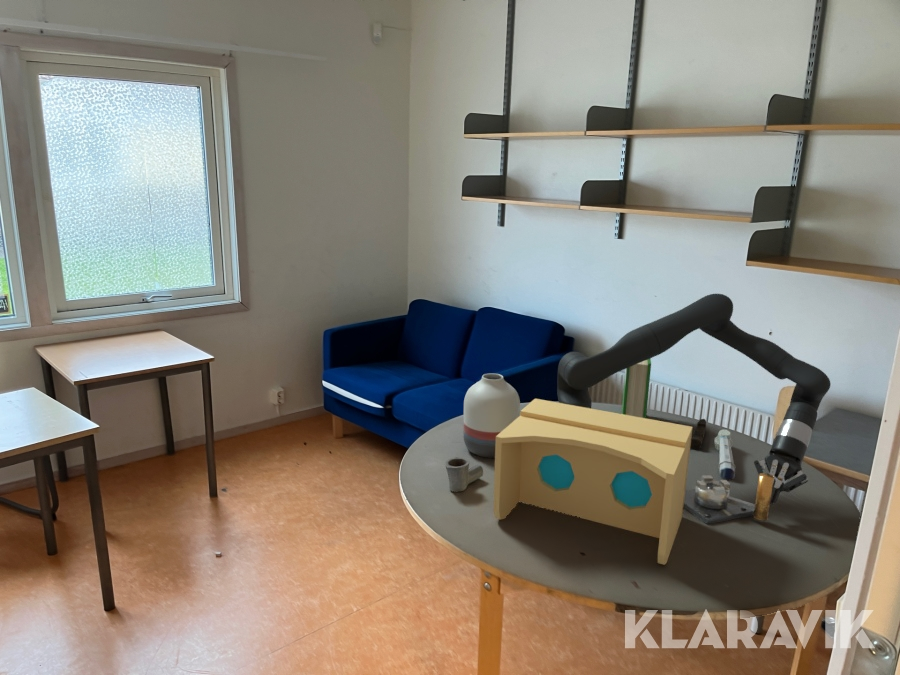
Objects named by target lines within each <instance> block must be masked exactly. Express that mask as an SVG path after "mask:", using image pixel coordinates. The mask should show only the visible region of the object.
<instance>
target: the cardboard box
mask: <svg viewBox="0 0 900 675" xmlns="http://www.w3.org/2000/svg"><path fill="white" fill-rule="evenodd" d="M692 435H693V426H690V425H684V424H677V423H673V422H669V421H662V420H661V421H660V420H657V419H651V418H647V417H646V418H640V417H635V416H629V415H624V414H622V413H617V412H612V411H606V410H600V409H595V408H591V409H590V408H585V407H579V406H574V405H568V404H563V403H559V402H558V401H557V402H556V401H552V400H545V399H540V398H534V399H532V400H531V401H530V402H529V403H527V405H526V406H525V407H523V408H522V409H520V416H519V417H518V418H517V419H515V420H514V421H513V422H512V423H511V424H510V425H509V426H507V427H506V428H505V429H504V430H503V431H502V432H500V433H499V434H498V435H497V436H496V443H495V458H494V476H493V478H494V479H493V480H494V482H493V508H492V509H493V510H492V511H493V515H494V518H495V519H498V520H500V521H501V520H504V519H506V518H507V517H508V516H509V514H510V513H511V512H512V511H513V510H514V509H515V508H516V506H517V505H518V504H519V503H521V502H524V503H523V504H525V503H527V504H526V505H529V504H532V505H531V506H533V505H536V506H535V507H537V506H539V507H538V508H541V507H543V508H542V509H544V508H547V509H546V510H548V509H551V510H550V511H552V510H554V511H553V512H556V511H558V512H557V513H560V512H562V513H561V514H564V513H565V514H564V515H568V514H569V515H568V516H571V515H572V516H571V517H575V516H577V517H576V518H579V517H580V519H584V520H587V521H591V522H594V523H595V522H596V523H598V524H602V525H606V526H610V527H614V528H618V529H623V530H626V531H629V532H634V533H638V534H642V535H645V536H650V537H653V538H657V539H659V540H658V541H659V542H658V550H657V563H658V564H660V565H666V564H667V562H668V559H669V556H670V553H671V551H672V548H673V545H674V543H675V539H676V537H677V533H678V530H679V528H680V524H681V522H682V519H683V513H684V507H683V506H684V497H685V491H686V488H687V487H686V486H687V480H688V478H687V477H688V470H689V462H690V453H691V452H690V450H691V449H690V445H691V437H692ZM519 501H520V502H519ZM518 502H519V503H518ZM517 503H518V504H517ZM516 504H517V505H516ZM513 508H514V509H513ZM512 509H513V510H512ZM511 510H512V511H511ZM507 515H508V516H507ZM506 516H507V517H506Z"/></svg>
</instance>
